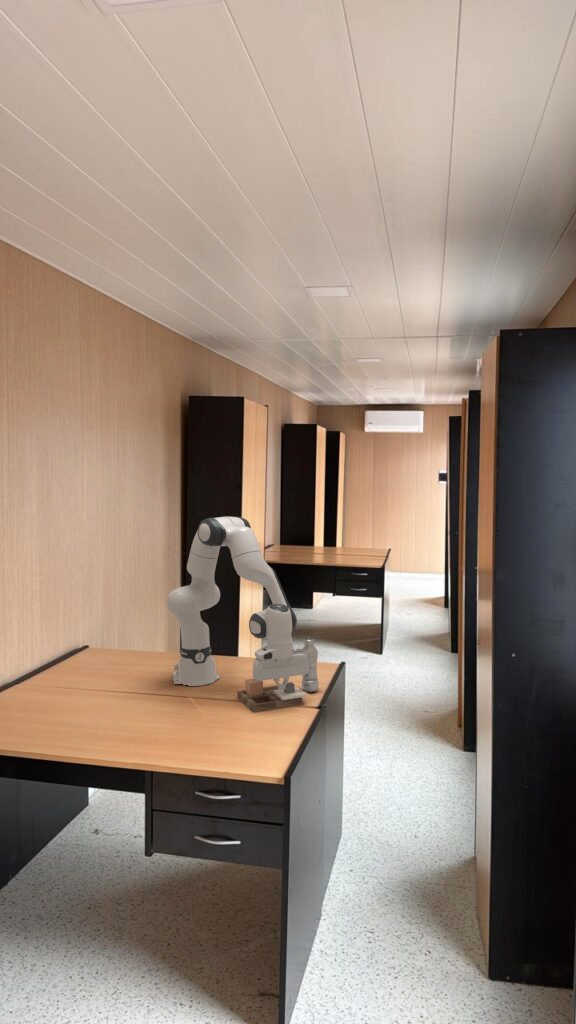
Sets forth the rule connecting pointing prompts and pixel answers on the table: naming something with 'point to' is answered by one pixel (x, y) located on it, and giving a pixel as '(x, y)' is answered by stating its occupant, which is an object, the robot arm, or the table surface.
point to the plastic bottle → (310, 667)
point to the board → (266, 700)
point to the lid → (289, 692)
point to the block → (253, 687)
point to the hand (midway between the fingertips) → (281, 689)
